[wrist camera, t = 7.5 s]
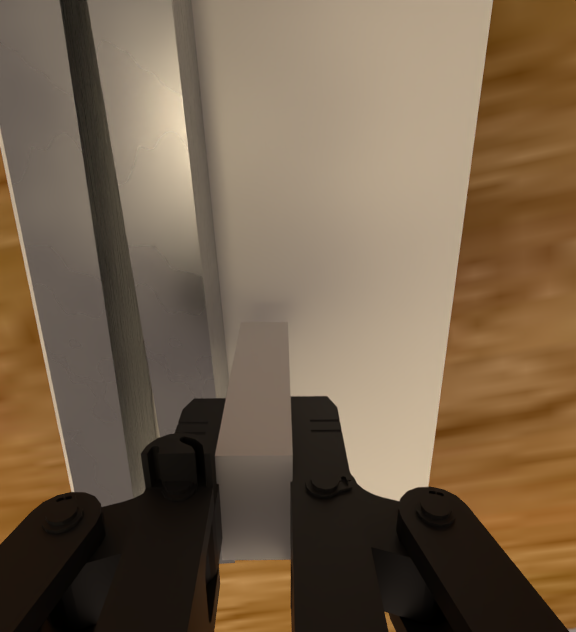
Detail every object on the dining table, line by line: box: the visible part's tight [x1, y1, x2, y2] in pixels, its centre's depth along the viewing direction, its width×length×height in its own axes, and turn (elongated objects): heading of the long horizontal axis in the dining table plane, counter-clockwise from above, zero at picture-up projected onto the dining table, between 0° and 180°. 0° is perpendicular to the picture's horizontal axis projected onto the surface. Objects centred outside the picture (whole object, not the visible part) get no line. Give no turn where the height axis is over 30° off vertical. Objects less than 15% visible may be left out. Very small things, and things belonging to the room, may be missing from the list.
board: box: [0, 0, 493, 501], centre depth 18 cm, size 34×16×1 cm, turn 0°
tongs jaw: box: [87, 0, 235, 564], centre depth 15 cm, size 24×2×4 cm, turn 2°
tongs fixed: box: [0, 0, 156, 507], centre depth 15 cm, size 28×4×4 cm, turn 0°
